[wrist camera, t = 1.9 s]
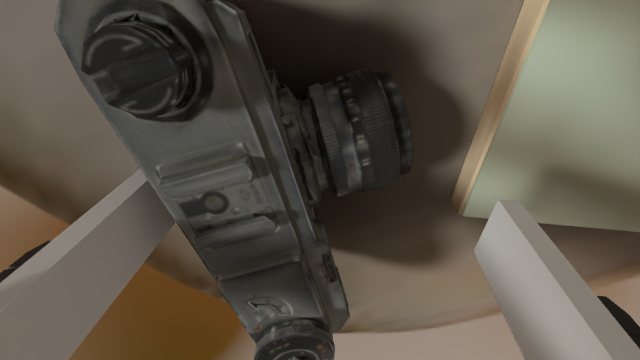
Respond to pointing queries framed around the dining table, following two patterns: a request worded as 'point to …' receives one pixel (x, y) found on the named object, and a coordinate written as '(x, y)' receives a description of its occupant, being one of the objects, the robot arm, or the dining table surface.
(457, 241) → the dining table surface
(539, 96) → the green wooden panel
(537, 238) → the robot arm
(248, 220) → the camera
